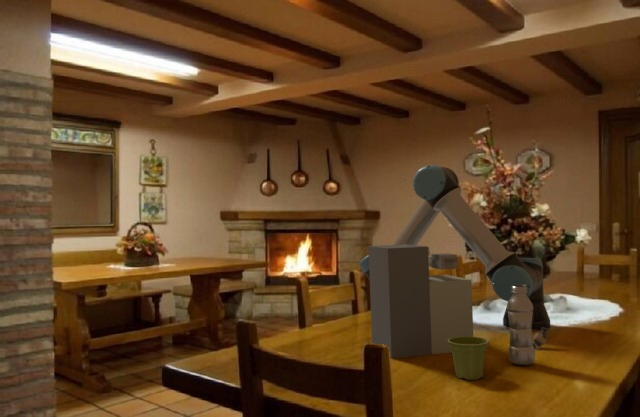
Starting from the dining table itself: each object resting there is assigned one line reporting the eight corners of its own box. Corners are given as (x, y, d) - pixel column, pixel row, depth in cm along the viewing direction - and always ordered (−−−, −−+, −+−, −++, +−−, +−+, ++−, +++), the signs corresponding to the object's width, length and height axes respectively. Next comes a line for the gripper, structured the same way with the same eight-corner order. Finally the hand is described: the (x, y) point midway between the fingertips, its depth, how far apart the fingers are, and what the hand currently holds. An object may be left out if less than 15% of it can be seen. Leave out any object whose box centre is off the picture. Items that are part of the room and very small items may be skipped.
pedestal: (371, 345, 165) (368, 246, 165) (447, 338, 171) (444, 242, 172) (391, 358, 149) (387, 248, 150) (473, 350, 155) (470, 244, 156)
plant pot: (443, 372, 135) (442, 337, 135) (481, 370, 135) (479, 335, 136) (456, 383, 125) (455, 345, 125) (496, 381, 126) (494, 343, 126)
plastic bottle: (535, 361, 142) (532, 284, 142) (536, 368, 135) (533, 287, 136) (508, 360, 144) (505, 284, 144) (508, 367, 137) (505, 287, 138)
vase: (543, 345, 159) (543, 324, 159) (555, 350, 154) (555, 329, 154) (526, 346, 158) (527, 325, 158) (538, 352, 153) (538, 330, 152)
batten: (402, 262, 181) (402, 250, 181) (416, 261, 182) (416, 249, 182) (441, 269, 154) (440, 255, 154) (457, 268, 155) (456, 254, 155)
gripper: (423, 290, 191) (449, 260, 171) (379, 292, 187) (401, 262, 167) (418, 270, 195) (443, 239, 175) (375, 272, 191) (396, 241, 171)
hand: (422, 250), depth 171 cm, fingers closed on batten, 3 cm apart
